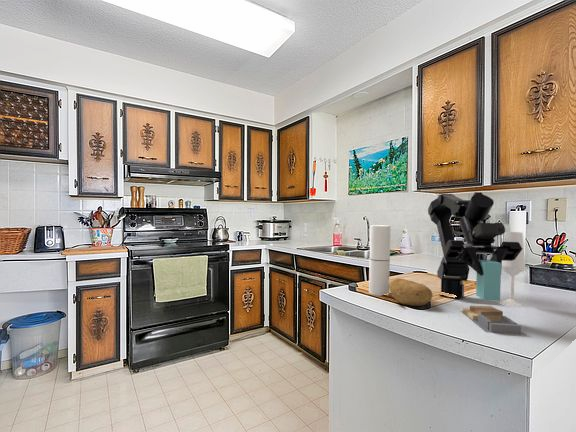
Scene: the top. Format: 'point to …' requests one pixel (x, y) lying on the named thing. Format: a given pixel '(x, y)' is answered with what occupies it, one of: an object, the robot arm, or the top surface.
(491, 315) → the offcut stack
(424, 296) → the potato
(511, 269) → the champagne flute
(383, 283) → the cylindrical container
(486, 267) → the teal slat
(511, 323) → the slotted grey block
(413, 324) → the top surface
